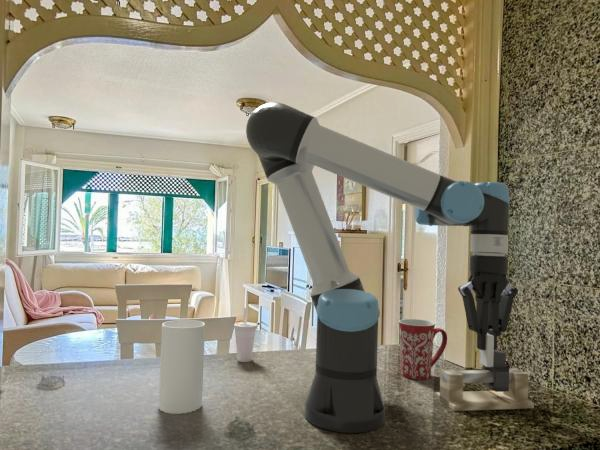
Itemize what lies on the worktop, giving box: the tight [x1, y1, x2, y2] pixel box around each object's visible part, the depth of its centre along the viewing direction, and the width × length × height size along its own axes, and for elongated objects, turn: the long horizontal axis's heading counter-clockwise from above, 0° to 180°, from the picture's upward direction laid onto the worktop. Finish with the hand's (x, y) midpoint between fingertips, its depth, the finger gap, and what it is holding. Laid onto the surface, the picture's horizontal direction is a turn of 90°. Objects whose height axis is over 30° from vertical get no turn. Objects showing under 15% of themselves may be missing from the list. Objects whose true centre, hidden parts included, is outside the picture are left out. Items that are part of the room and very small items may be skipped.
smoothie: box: [233, 307, 258, 363], centre depth 122 cm, size 6×6×14 cm
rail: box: [434, 367, 535, 412], centre depth 96 cm, size 18×8×7 cm, turn 100°
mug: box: [398, 318, 448, 381], centre depth 114 cm, size 13×9×14 cm
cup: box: [158, 319, 206, 415], centre depth 88 cm, size 8×8×16 cm
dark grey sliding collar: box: [481, 349, 510, 392], centre depth 96 cm, size 3×5×8 cm, turn 10°
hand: (486, 364), depth 96 cm, fingers closed
